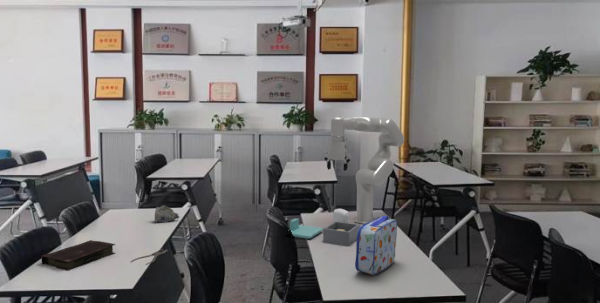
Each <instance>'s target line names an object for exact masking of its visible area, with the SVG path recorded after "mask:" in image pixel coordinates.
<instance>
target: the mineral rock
mask: <svg viewBox="0 0 600 303" xmlns="http://www.w3.org/2000/svg"><path fill="white" fill-rule="evenodd" d="M179 218H180V216H179V213H177V212H174V210H173V208H171V207H169V206H166V205H161V206H157V207H156V206H155V210H154V223H155V224H156V223H157V224H159V223H164V222H166V223H167V222H168V221H169V222H171V221H175V220H178V219H179ZM158 222H159V223H158Z"/></svg>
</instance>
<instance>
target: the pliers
mask: <svg viewBox="0 0 600 303" xmlns="http://www.w3.org/2000/svg"><path fill="white" fill-rule="evenodd" d="M166 252H168V249H166V250H164V249H163V248H161V249H159V250H157V251H155V252H153V253H151V254H149V255H144V256H141V257H137V258H135V259H132V260H131V261H130V263H132V262H134V261H137V260H140V259H143V258H144V259H145V258H148V257H153V256H154V257H153V259H152V260H151V261H149V262H147V263H145V266H147V265H150V264H152V263H153V262H155V261H156V259H157V257H158V256H161V255H162V254H166Z"/></svg>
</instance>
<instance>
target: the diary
mask: <svg viewBox="0 0 600 303" xmlns="http://www.w3.org/2000/svg"><path fill="white" fill-rule="evenodd" d="M113 246H116V243H110V242H106V241H100V240H99V241H98V240H93V239H92V240H87V241H84V242H81V243H79V244H75V245H72V246H68V247H65V248H62V249H59V250H56V251H53V252H49V253H45V254H43V255H41V264H42V265H44V264H45V265H49V266H53V267H54V268H55V269H60V270H64V271H71V270H74V269H77V268H80V267H82V266H85V265H87V264H90V263H93V262H96V261H99V260H101V259H103V258H106V257H110V256H112V255H116V252H114V251H113V250H114V249H113V248H114V247H113Z"/></svg>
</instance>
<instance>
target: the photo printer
mask: <svg viewBox="0 0 600 303" xmlns="http://www.w3.org/2000/svg"><path fill="white" fill-rule="evenodd" d="M350 216H351V214H350V212H349V211H348V210H345V209H343V208H335V209H334V210H333V222H335V221H336V222H344V223H351V222H350V221H351V217H350Z"/></svg>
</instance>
